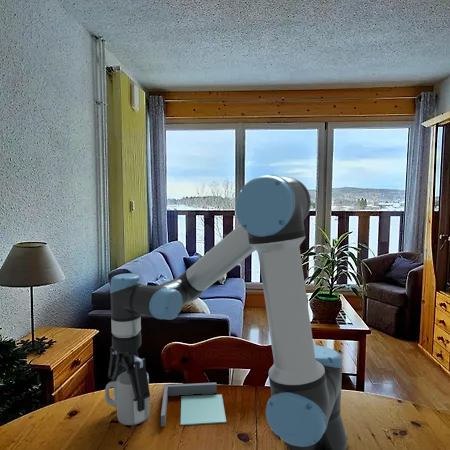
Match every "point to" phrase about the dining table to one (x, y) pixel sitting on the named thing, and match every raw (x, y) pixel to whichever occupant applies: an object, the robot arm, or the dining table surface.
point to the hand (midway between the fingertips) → (128, 412)
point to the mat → (202, 409)
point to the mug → (125, 399)
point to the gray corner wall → (184, 393)
